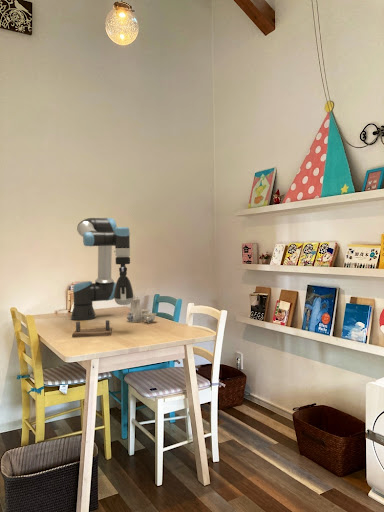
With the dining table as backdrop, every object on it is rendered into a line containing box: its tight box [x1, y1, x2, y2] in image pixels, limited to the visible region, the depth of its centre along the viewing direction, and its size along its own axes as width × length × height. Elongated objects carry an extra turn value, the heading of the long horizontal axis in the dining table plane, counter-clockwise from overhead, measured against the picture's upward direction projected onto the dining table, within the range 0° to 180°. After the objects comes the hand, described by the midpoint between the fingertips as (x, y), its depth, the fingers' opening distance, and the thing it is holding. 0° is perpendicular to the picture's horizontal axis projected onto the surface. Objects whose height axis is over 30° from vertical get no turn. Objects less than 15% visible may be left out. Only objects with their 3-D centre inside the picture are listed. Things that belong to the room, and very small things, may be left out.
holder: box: [71, 319, 113, 338], centre depth 209 cm, size 13×19×6 cm
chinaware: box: [126, 294, 157, 324], centre depth 245 cm, size 28×17×17 cm, turn 25°
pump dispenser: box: [113, 275, 134, 306], centre depth 211 cm, size 10×10×15 cm
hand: (123, 298), depth 211 cm, fingers closed on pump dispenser, 10 cm apart
